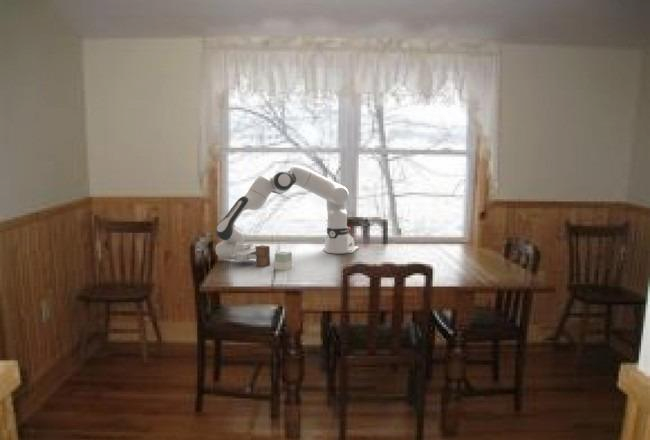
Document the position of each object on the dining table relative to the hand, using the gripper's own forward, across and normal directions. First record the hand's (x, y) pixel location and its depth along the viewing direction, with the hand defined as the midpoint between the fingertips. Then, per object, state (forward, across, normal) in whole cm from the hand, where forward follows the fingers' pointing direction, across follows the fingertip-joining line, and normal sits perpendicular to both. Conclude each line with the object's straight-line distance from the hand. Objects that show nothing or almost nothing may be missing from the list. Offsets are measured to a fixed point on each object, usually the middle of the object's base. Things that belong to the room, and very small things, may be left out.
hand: (262, 255), depth 282 cm
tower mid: (+13, 0, +2) cm, 13 cm away
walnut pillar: (0, 0, +5) cm, 5 cm away
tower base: (+13, 0, +6) cm, 14 cm away
